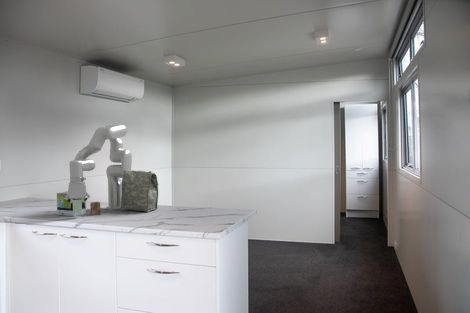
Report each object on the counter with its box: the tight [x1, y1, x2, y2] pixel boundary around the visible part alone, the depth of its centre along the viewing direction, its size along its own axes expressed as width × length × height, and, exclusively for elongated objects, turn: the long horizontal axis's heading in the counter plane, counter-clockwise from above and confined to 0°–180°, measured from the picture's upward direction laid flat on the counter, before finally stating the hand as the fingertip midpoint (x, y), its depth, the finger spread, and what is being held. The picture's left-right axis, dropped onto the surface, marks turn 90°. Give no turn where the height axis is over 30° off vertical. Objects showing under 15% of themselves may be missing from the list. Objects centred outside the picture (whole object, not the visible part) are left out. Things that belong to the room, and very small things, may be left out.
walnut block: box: [90, 201, 101, 216], centre depth 222 cm, size 5×5×8 cm
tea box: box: [56, 190, 87, 217], centre depth 223 cm, size 15×10×15 cm, turn 71°
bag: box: [121, 169, 159, 213], centre depth 236 cm, size 22×16×27 cm
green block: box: [73, 198, 83, 213], centre depth 212 cm, size 5×5×8 cm
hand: (77, 208), depth 212 cm, fingers closed on green block, 5 cm apart
